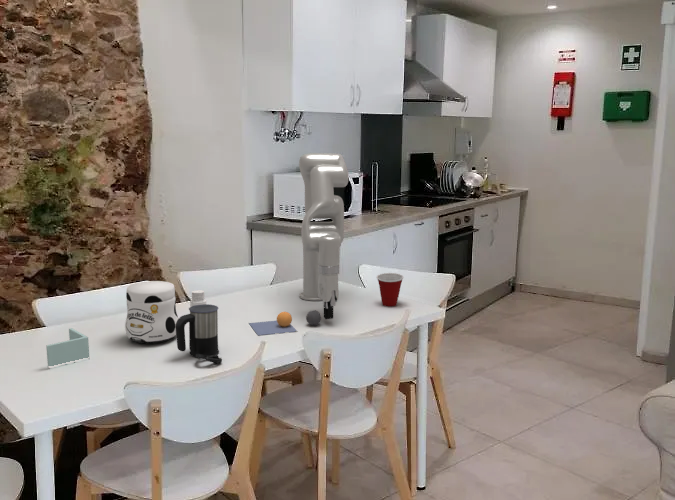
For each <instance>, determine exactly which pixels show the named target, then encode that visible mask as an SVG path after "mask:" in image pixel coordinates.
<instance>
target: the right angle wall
mask: <svg viewBox="0 0 675 500" xmlns="http://www.w3.org/2000/svg"><path fill="white" fill-rule="evenodd" d="M68 338H69V340H64V341H61V342H60V341H59V342H55V343H52V344H47V345H46V358H47V359H46V360H47V367H48V366H54V365H58V364H62V363H66V362H70V361H75V360H79V359H83V358H88V357H89V358H90V348H89V347H90V345H89V337H88V336H86V335H85V334H84V333H82V332H80V331H78V330H77V329H74V328H72V327H69V328H68Z"/></svg>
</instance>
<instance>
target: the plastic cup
mask: <svg viewBox="0 0 675 500" xmlns="http://www.w3.org/2000/svg"><path fill="white" fill-rule="evenodd" d="M404 278H405V277H404V275H403V274H400V273H396V272H384V273H380V274H378V275H376V279H377V282H378V285H379V286H378V287H379V293H380V298H381V300H380V301H381V304H382V306H384V307H388V308H389V307H396V306H397V304H398V299H399V295H400V292H401V285H402V282H403V279H404Z"/></svg>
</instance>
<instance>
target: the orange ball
mask: <svg viewBox="0 0 675 500" xmlns="http://www.w3.org/2000/svg"><path fill="white" fill-rule="evenodd" d="M276 321H277V323H278V324H279V325H280V326H282V327H287V326H289V325H290V324H291V325H292V321H293V317H292V315H291V314H290V313H289V312H287V311H280V313H278V314H277V316H276Z"/></svg>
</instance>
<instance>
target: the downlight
mask: <svg viewBox="0 0 675 500" xmlns="http://www.w3.org/2000/svg"><path fill="white" fill-rule="evenodd" d="M205 294H206V293H205V290H201V289H200V290H198V289H197V290H192V291H191V299H190V300H189V305H190V307H192V306H195V305H203V304H207V300H206V299H205ZM190 307H189V308H190Z"/></svg>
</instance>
